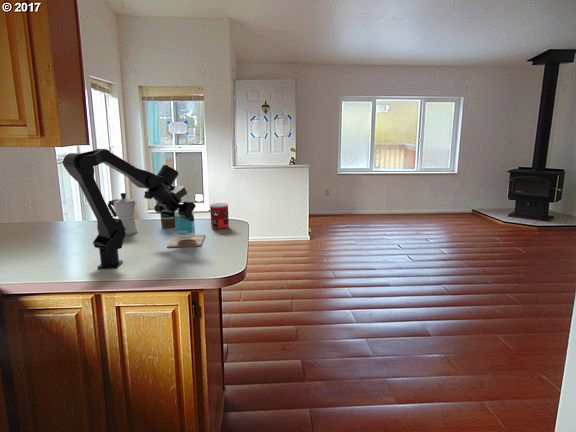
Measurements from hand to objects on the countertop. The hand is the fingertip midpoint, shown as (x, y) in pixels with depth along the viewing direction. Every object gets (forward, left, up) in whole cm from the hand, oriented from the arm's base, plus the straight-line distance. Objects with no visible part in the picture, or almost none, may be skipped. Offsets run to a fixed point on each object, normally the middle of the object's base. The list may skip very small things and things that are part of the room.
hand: (187, 219), depth 163 cm
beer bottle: (+27, +13, -9) cm, 32 cm away
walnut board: (-1, +1, -9) cm, 9 cm away
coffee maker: (+18, +31, -9) cm, 37 cm away
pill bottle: (-1, +1, -7) cm, 7 cm away
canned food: (+20, -11, -9) cm, 25 cm away
